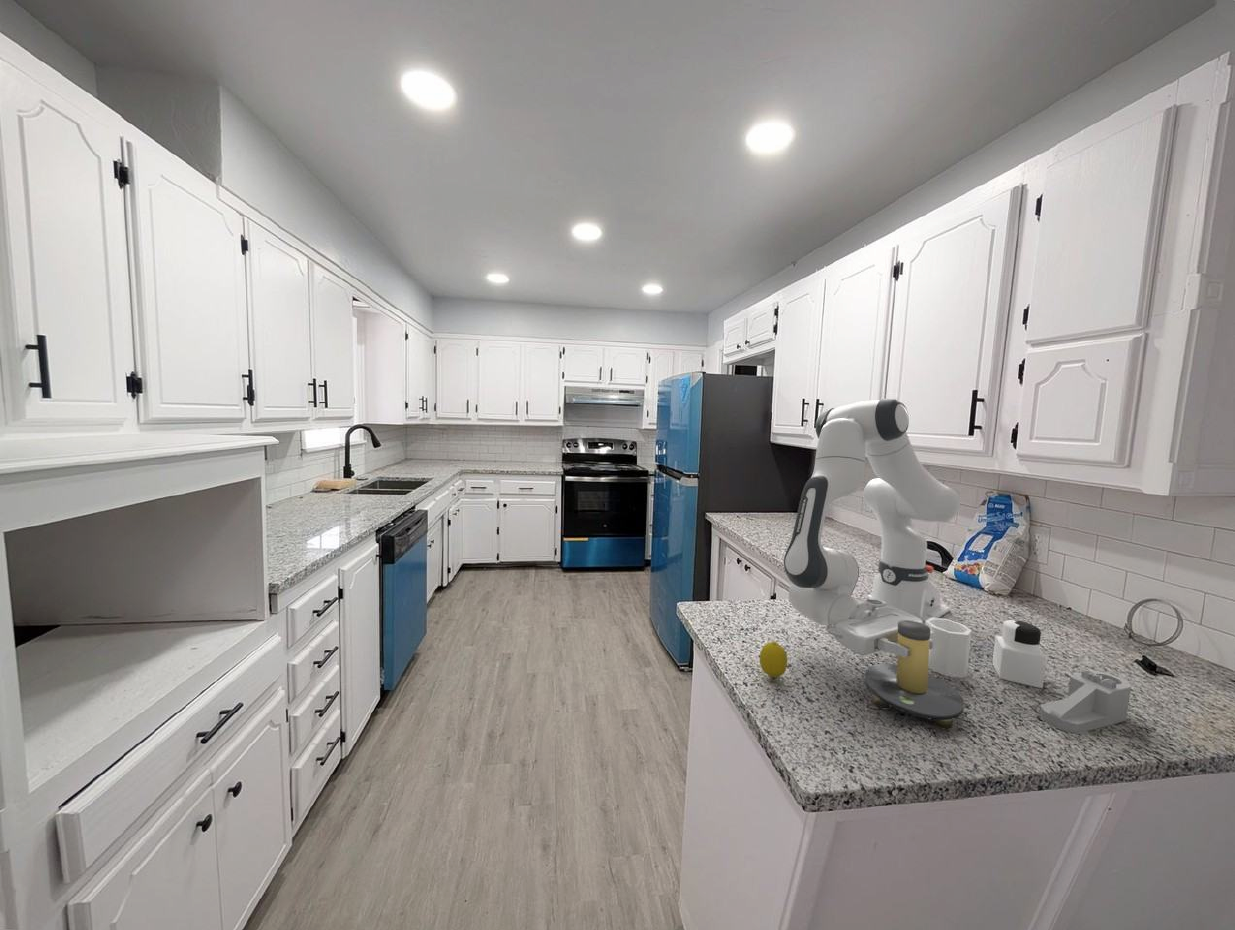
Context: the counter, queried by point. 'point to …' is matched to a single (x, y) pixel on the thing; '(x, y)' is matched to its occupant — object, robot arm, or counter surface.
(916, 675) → the yellow lidded tumbler
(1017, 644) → the medicine bottle
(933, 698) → the plate
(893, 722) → the counter surface
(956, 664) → the mug
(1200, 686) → the counter surface
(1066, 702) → the sloped support bracket
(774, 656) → the lemon
